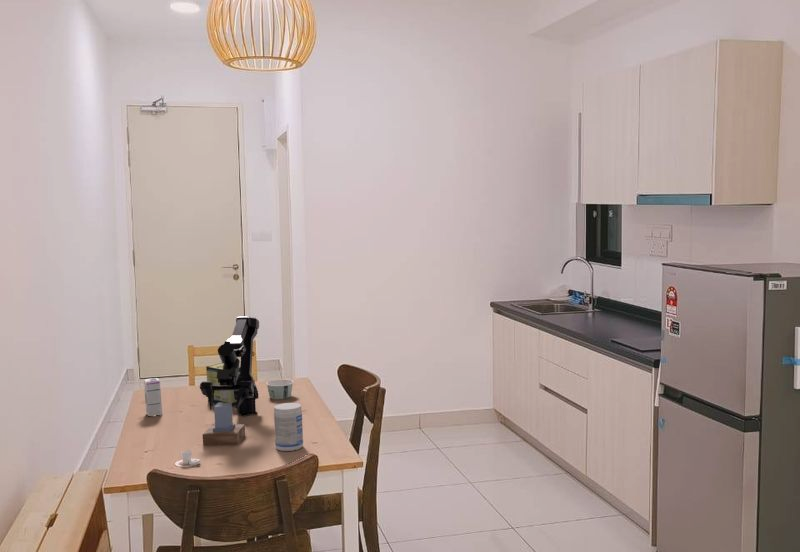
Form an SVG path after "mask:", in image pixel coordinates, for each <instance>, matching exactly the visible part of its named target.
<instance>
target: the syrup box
mask: <svg viewBox="0 0 800 552" xmlns="http://www.w3.org/2000/svg"><path fill="white" fill-rule="evenodd" d="M143 382H144V383H143V386H144V400H145V401H144V402H145V413H147V414H146V416H147V415H148V416H153V417H155V416H154V415H160V416H163V407H162V406H163V405H162V404H163V403H162V390H161V381H160V379H159V378H158V377H150V378H145V379H143ZM148 416H147V417H148Z"/></svg>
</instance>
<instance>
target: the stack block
mask: <svg viewBox="0 0 800 552" xmlns="http://www.w3.org/2000/svg"><path fill="white" fill-rule="evenodd" d="M214 427H215V423H214V424H213V423H212V424H211V425H210V426H209V427H208V428H207V429H206V430H205V431H204V432H203V433H202V446H238V444H239V443H240V442H241V441H242V440H243V438H244V437H245V436H246V424H245V423H235V427H234V428H233V430H232V431H231V432H213V428H214Z"/></svg>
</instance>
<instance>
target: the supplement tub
mask: <svg viewBox="0 0 800 552" xmlns="http://www.w3.org/2000/svg"><path fill="white" fill-rule="evenodd" d="M273 417H274V418H273V422H274V437H275V438H274V442H275V444H274V447H275V448H276V450H278V451H281V452H292V451H297V450H300V449H302V447H303V446H304V437H303V436H304V432H303V409H302V404H300V403H297V402H283V403H279V404H278V403H277V404H276V405H274V407H273Z"/></svg>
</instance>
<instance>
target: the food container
mask: <svg viewBox="0 0 800 552" xmlns="http://www.w3.org/2000/svg"><path fill="white" fill-rule="evenodd" d="M265 385H267V392H268V395H269V396H268V397H269V399H270V398H272V399H271V400H274V399H282V400H285V399H284V398H288V397H290V396H291V397H292V391H293V385H294V380H292V379H286V378H285V379H283V378H282V379H281V378H280V379H279V378H278V379H273V380H269V381H267V382H266V383H265ZM291 397H290V398H291ZM288 399H289V398H288Z"/></svg>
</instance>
